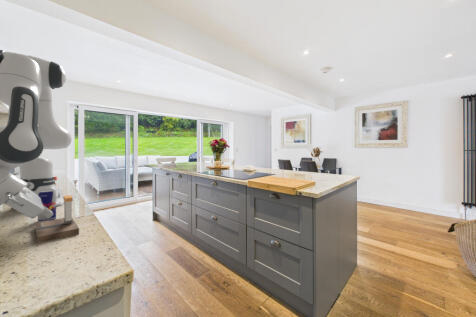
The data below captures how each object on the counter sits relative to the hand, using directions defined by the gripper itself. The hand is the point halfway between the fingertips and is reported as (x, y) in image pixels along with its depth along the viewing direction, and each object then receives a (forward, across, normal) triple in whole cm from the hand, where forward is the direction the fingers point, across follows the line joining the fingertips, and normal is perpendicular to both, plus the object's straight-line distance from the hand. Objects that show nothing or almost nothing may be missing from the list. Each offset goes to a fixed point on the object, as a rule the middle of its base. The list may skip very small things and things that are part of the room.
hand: (51, 215), depth 69 cm
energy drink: (+4, +16, +4) cm, 17 cm away
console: (+5, 0, +3) cm, 6 cm away
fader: (+6, 0, -1) cm, 6 cm away
